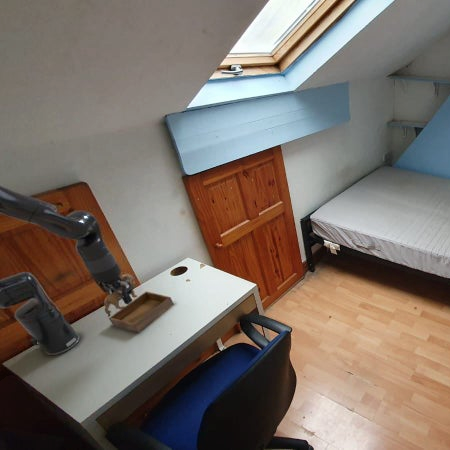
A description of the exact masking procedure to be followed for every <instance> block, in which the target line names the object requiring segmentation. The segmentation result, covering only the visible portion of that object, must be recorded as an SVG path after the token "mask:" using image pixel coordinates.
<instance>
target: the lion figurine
mask: <svg viewBox="0 0 450 450" xmlns="http://www.w3.org/2000/svg"><path fill="white" fill-rule="evenodd" d="M120 278H121V279H122V280H123V282H125V283H126V282H130V283H131V287H132V291H133V293H131V294H130V296H131V298H134V299H136V298H138V295H137V294H135V288H136V282H135V279H134V276H133V275H131V274H129V273H125V274H122V275H120ZM120 288H121V287H120ZM120 288H119V289H120ZM119 289H117V290H119ZM121 292H122V291H121ZM122 294H123V292H122ZM118 299H121V300H123V299H122V298H121V296H120V295H119V294H118V293H115V292H114V293H112V294H108V295H106V296H105V297H104V300H103V301H104V303H103V306H104V313H105V314H107V318H110V317H111V313H112V311H111V310H110V309H109V308H110V306H111V305H113V306H114V307H115V309H118V310H121V309H124V308H125V306H123V305H122V306H120V302H119V301H120V300H119V301H118Z"/></svg>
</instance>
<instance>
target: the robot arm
mask: <svg viewBox="0 0 450 450" xmlns="http://www.w3.org/2000/svg"><path fill="white" fill-rule="evenodd" d="M57 211H58V210H57V206H55V205H54V204H52V203H49V202H46V201H43V200H40V199H39V198H34V197H33V196H32V197H31V196H30V195H29V196H28V195H26V194H23V193H20V192H17V191H14V190H12V189H9V188H8V187H7V188H6V187H5V186H3V185H0V214H3V215H4V216H7V217H10V218H13V219H16V220H19V221H23V222H26V223H30V224H33V225H37V226H38V227H40V228H42V229H44V230H46V231H48V232H50V233H52V234H54V235H56V236H58V237H60V238H63V239H67V240H76V243H75V251H76V252H77V255H79V257H80V258H81V260H82V262H83V264H84V266H85V268H86V269H87V271H88V273H89V275H90V276H91V278H92V279H93V282H95V284H96V285H97V286H98V287H99V288H100V289H101V290H102V292H103V293H107V294H108V295H109V294H112V293H114V292H115V293H118V294H119V295H120V296H121V298H122V299H118V301H121V300H122V301H123V303H124V304H125V305H128V304H129V303H131V302H132V301H133V299H132V296H131V293H133V291H134V290H133V291H132V287H131V283H130V282H126V283H125V282H123V280H122V279H121V274H122V268H121V267H120V265H119V263H118V261H117V260H116V258H115V256H114V255H113V253H112V252H111V250H110V249H109V248H108V246H107V244H106V242H105V241H104V239H103V234H102V230H101V227H100V226H101V225H100V224H99V221H98V219H97V218H96V217H95V215H93V214H92V213H91V212H89V211H86V210H75V211H71V212H70V213H69V214H67V215H66V216H65V215H62V214H61V213H58V212H57ZM120 287H121V288H120ZM119 288H120V289H119ZM118 289H119V290H118ZM121 291H122V292H123V294H122V292H121ZM24 302H25V303H24ZM22 303H24V304H22ZM19 304H22V305H21V306H20V307H19V308H18V309H17V310H16V311H15V312H14V318H15V320H17V321H18V323H19V324H20V325H21V326H22V327H23V328H24V330H25V331H27V333H28V334H29V335H30V336H31V338H30V339H29V341H30V342H31V343H32V345H34V346H39V347H41V349H42V350H43V351H44V353H45V354H46V355H48V356H58V355H60V354H64V353H66V352H67V351H69V350H71V349H73V348H74V347H75V346H76V345H78V343H79V342H80V340H81V336H80V335H79V334H78V333H77V331H76V330H75V329H74V327H73V326H72V324H71V323H70V322H69V321H68V319H66V317H65V315H63V313H62V312H61V311H60V309H59V308H58V307H57V305H56V304H55V303H54V302H53V300H52V299H51V298H50V296H48V293H46V291H45V289H44V288H43V287H42V285H41V283H40V282H39V281H38V278H36V277H35V275H33V273H31V272H28V271H22V272H19V273H16V274H13V275H11V276H8V277H4V278H1V279H0V309H8V308H11V307H14V306H17V305H19Z"/></svg>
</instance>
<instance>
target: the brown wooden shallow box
mask: <svg viewBox="0 0 450 450" xmlns="http://www.w3.org/2000/svg"><path fill="white" fill-rule="evenodd" d="M174 305H175V304H174V302H173V299H172V298H171V296H168V295H163V294H159V293H155V292H150V291H147V290H145V292H143V293H142V294H141V295H139V296H137V297H135V298H134V299H133V300H132V302H130V303H129V304H126V305H125V306H124V307H125V308H124V309H119V310H118V311H117V312H116V313H114V314H112V315H110V317H108V320H109V321H110V323H111V324H112V326H113V327H117V328H120V329H124V330H128V331H131V332H135V333H138V334H139V333H141V332H142V331H143V330H145V329H146V328H147V327H148V326H150V325H151V324H152V323H153V322H154V321H155V320H157V319H158V318H159V317H160V316H161V315H163V314H164V313H165V312H167V311H168V310H169V309H170V308H172V307H173V306H174Z"/></svg>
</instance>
